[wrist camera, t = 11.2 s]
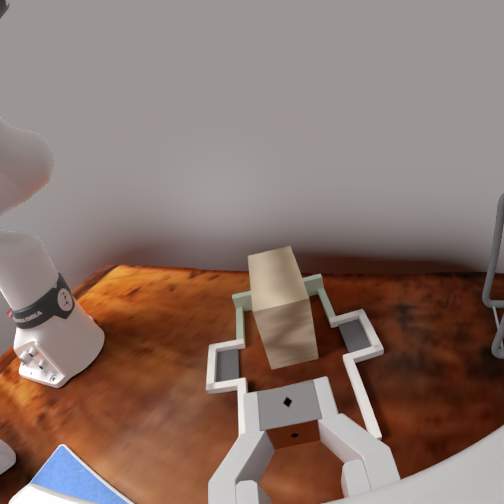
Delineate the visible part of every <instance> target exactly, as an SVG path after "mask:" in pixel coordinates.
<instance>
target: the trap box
mask: <svg viewBox="0 0 504 504" xmlns="http://www.w3.org/2000/svg"><path fill="white" fill-rule="evenodd" d="M302 279H303V282H304V285H305V288H306V291H307V293H308V296H313V295H317V294H318V295H319V298H320V300H321V303H322V305H323V308H324V311H325V313H326V316H327V318H328V321H329V324H330V326H331V328H334V327H337V326H338V327H339V329H340V332H341V334H342V337H343V339H344V342H345V344H346V347H347V349H348V352H349V353H348V354H345V355H343V361H344V364H345V367H346V370H347V372H348V375H349V378H350V381H351V384H352V387H353V389H354V392H355V395H356V398H357V401H358V404H359V407H360V410H361V413H362V416H363V419H364V422H365V425H366V428H367V431H368V433H370V434H371V435H373V436H374V437H375V438H377V439H378V440H381V438H382V435H381V433H380V430H379V427H378V424H377V421H376V418H375V416H374V413H373V410H372V407H371V405H370V402H369V399H368V396H367V394H366V391H365V388H364V386H363V383H362V380H361V378H360V375H359V373H358V370H357V367H356V365H355V363H357V362H361V361H364V360H367V359H370V358H373V357H376V356H379V355H382V354H383V353H384V348H383V346H382V344H381V342H380V340H379V338H378V337H377V335H376V333H375V331H374V329H373V327H372V325H371V323H370V321H369V319H368V317H367V316H366V314H365V312H364V310H363V309H360V310H357V311H353V312H350V313H346V314H343V315H339V316H335V313H334V311H333V308H332V306H331V304H330V301H329V299H328V297H327V294H326V292H325V290H324V287H323V280H322V276H321V274H317V275H313V276H310V277H306V278H302ZM232 299H233V302H234V304H235V307H236V340H232V341H227V342H222V343H217V344H211V345H209V353H208V367H207V381H206V391H207V392H208V394H215V393H222V392H229V391H235V390H238V419H239V436H240V434H243V433H245V430H244V411H243V395H244V394H245V393H248V383H247V380H246V378H240V379H239V349H244V348H246V346H245V326H244V312H245V311H250V310H252V299H251V291H247V292H243V293H238V294H234V295H232Z"/></svg>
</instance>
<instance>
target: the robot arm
mask: <svg viewBox="0 0 504 504" xmlns="http://www.w3.org/2000/svg"><path fill="white" fill-rule="evenodd" d="M9 3H10V0H0V18H1V17H2V16H3V15H4V13H5V12H6V11H7V10H8V7H9ZM52 171H53V153H52V150H51V147H50V145H49V143H48V142H47V140H46V139H45V138H44V137H43V136H42V135H41V134H39V133H37V132H35V131H33V130H23V129H19V128H16V127H14V126H12V125H10V124H9V123H7V122H6V121H4V120H3V119H2V118H1V117H0V216H2V215H3V214H5V213H7V212H8V211H10V210H11V209H13V208H15V207H16V206H18V205H19V204H21V203H23V202H25V201H26V200H28V199H29V198H30V197H32V196H33V195H34V194H35V193H36V192H38V191H39V190H40V189H41V188H42V187H43V186H45V185H46V184H47V183H48V182H49V181H50V178H51V175H52ZM0 291H1V292H2V294H3V295H4V297H5V299H6V300H7V302H8V303H9V305H10V306H11V308H10V309H9V311H8V312H7V314H8V313H9V312H10V311H11V313H10V316H9V318H10V317H11V316H12V315H13V318H14V321H15V323H16V326H17V330H16V336H15V341H14V350H15V353H16V354H17V356H18V357H19V359H20V361H21V365H20V369H19V374H20V375H21V377H23V378H26V379H29V380H32V381H35V382H38V383H41V384H45V385H48V386H51V387H55V388H60V387H61V386H63V385H64V384H65V383H66V382H67V381H68V380H69V379H70V378H71V377H73V376H74V375H76V374H78V373H79V372H81V371H82V370H84V369H85V368H86V367H87V366H88V365H90V364H91V363H92V362H93V360H94V359H95V358H96V357H97V355H98V354H99V352H100V351H101V349H102V346H103V343H104V338H105V337H104V332H103V330H102V329H101V328H100V327H99V326H98V325H96V324H95V322H94V320H93V318H92V317H91V316H88V315H87V313H86V312H85V311H84V310H83V308H82V307H81V306H80V304H79V303H78V302H77V300H76V299H75V298H74V297H73V295H72V294H71V291H70V289H69V287H68V285H67V283H66V281H65V279H64V278H63V277H62V275H61V274H60V273H59V272H57V270H56V268H55V267H54V265H53V263H52V261H51V259H50V257H49V255H48V253H47V251H46V249H45V247H44V245H43V243H42V241H41V239H40V238H39V237H38V236H37V235H35V234H34V233H31V232H25V231H17V232H5V231H3V230H2V229H0ZM243 411H244V430H245V433H243V434H240V436H239V437H238V439H237V440H236V442H235V444H234V445H233V447H232V448H231V450H230V451H229V453H228V454H227V456H226V457H225V459H224V460H223V462H222V463H221V465H220V466H219V468H218V469H217V471H216V472H215V473H214V475H213V476H212V478H211V479H210V481H209V484H208V504H271V499H270V496H269V495H268V494H267V493H266V492H265V491H264V490H263V489H262V488H261V487H260V486H259V485H258V483H259V481H260V480H261V478H262V476H263V474H264V472H265V470H266V468H267V466H268V464H269V462H270V460H271V458H272V456H273V454H274V452H275V449H279V448H284V447H289V446H293V445H298V444H303V443H309V442H314V441H318V440H321V442H322V443H323V444H324V445H325V446H326V447H328V448H329V449H330V450H331V451H332V452H333V453H334V454H335V455H336V456H337V457H338V458H339V459H341V460H342V461H343V462H344V463H345V464H344V466H343V469H342V478H341V486H342V491H343V495H344V498H343V499H339V500H335V501H331V502H327V503H322V504H504V425H503V426H501V427H500V428H499V429H497V430H496V431H494V432H493V433H491V434H489V435H488V436H486V437H485V438H483V439H482V440H480V441H478V442H477V443H475V444H473V445H472V446H470V447H468V448H466V449H465V450H463V451H461V452H459V453H457V454H456V455H454V456H452V457H450V458H448V459H446V460H444V461H442V462H440V463H438V464H436V465H434V466H432V467H430V468H427V469H425V470H423V471H421V472H418V473H416V474H414V475H411V476H409V477H407V478H404V479H402V480H400V477H399V474H398V471H397V468H396V465H395V462H394V459H393V456H392V453H391V450H390V448H389V447H388V446H387V445H385V444H384V443H382V442H381V441H380V440H378V439H377V438H375V437H374V436H373V435H371V434H370V433H368V432H367V431H366V430H364V429H363V428H362V427H360V426H359V425H358V424H356V423H355V422H354V421H352V420H351V419H350V418H348V417H347V416H346V415H344V414H343V413H342V414H338V410H337V407H336V404H335V400H334V397H333V393H332V390H331V387H330V383H329V380H328V378H327V377H326V376H325V377H322V378H318V379H314V380H308V381H304V382H300V383H296V384H292V385H288V386H285V387H280V388H274V389H269V390H263V391H256V392H251V393H245V394H244V395H243ZM9 504H101V503H96V502H92V501H88V500H84V499H80V498H77V497H73V496H70V495H66V494H63V493H60V492H57V491H54V490H51V489H48V488H45V487H42V486H40V485H37V484H33V483H31V484H28V485H26V486H25V487H24V488H22V489H21V490H20V491H19V492H18V493H17V494H16V495H14V496H13V497H12V498H11V500H10V501H9Z"/></svg>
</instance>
